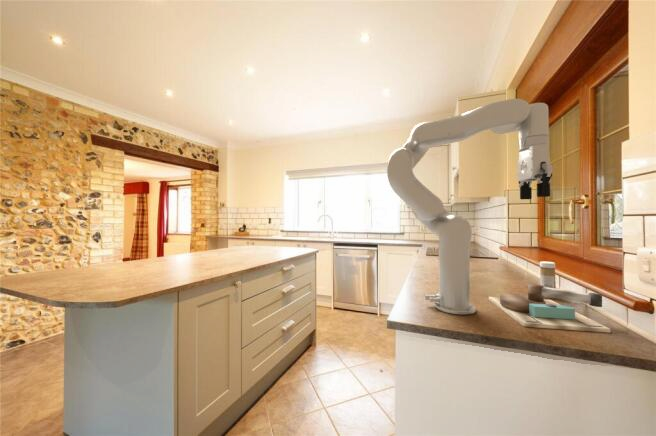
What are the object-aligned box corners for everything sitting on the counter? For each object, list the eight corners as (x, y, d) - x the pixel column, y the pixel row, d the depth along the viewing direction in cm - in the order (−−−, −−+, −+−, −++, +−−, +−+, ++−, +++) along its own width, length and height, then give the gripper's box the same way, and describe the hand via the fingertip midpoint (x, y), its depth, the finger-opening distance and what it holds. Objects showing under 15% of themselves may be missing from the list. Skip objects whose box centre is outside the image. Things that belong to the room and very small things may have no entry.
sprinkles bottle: (557, 297, 98) (557, 262, 98) (553, 299, 95) (553, 263, 95) (542, 294, 101) (542, 260, 101) (538, 296, 99) (537, 261, 99)
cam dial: (516, 315, 76) (516, 291, 76) (494, 299, 91) (493, 279, 91) (605, 321, 71) (604, 295, 71) (565, 303, 87) (565, 282, 87)
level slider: (534, 316, 75) (534, 306, 75) (529, 313, 78) (528, 302, 78) (575, 319, 73) (574, 308, 73) (567, 315, 76) (567, 304, 76)
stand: (523, 326, 72) (523, 322, 72) (488, 299, 96) (488, 296, 96) (610, 332, 68) (610, 328, 68) (550, 302, 92) (550, 299, 92)
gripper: (507, 152, 91) (508, 200, 91) (535, 137, 74) (536, 196, 74) (531, 150, 90) (532, 199, 90) (565, 134, 73) (566, 195, 73)
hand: (534, 198), depth 82 cm, fingers open, 9 cm apart
